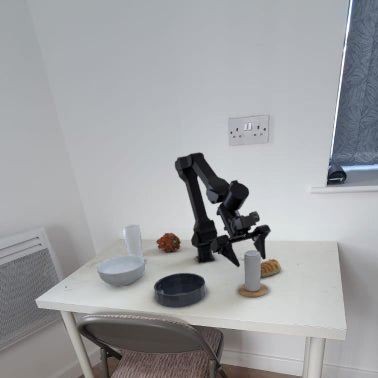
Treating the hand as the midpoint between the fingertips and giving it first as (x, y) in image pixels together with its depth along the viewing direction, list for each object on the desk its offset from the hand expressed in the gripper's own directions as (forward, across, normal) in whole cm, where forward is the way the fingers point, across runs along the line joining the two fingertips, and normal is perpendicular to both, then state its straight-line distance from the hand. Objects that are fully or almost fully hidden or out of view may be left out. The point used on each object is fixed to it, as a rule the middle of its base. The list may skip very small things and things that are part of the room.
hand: (252, 262), depth 98 cm
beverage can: (+7, 0, +6) cm, 9 cm away
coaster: (+7, 0, +6) cm, 9 cm away
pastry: (+1, +12, +12) cm, 17 cm away
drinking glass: (-27, -24, +41) cm, 54 cm away
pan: (-1, -20, +14) cm, 25 cm away
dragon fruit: (-30, -8, +44) cm, 53 cm away
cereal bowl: (-16, -33, +30) cm, 48 cm away
